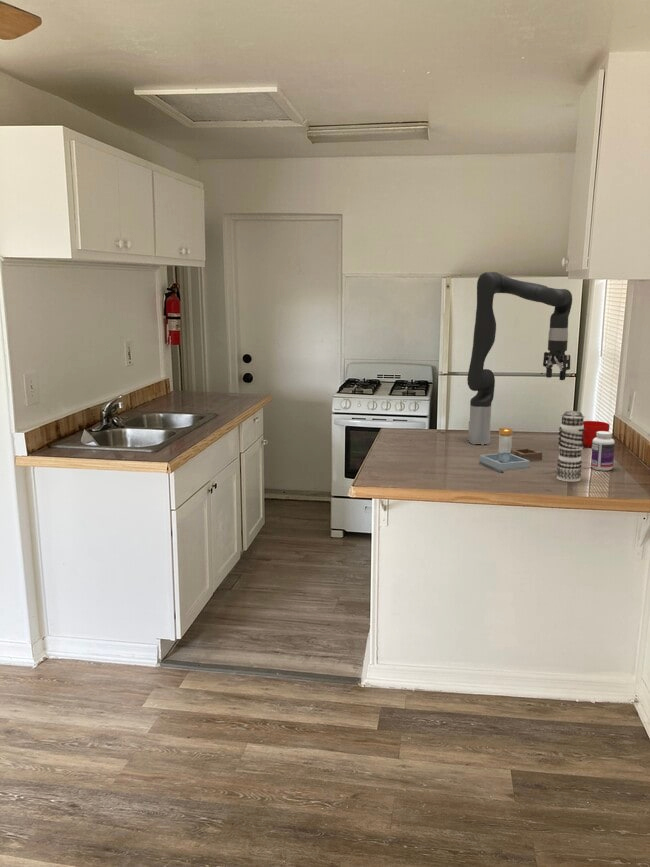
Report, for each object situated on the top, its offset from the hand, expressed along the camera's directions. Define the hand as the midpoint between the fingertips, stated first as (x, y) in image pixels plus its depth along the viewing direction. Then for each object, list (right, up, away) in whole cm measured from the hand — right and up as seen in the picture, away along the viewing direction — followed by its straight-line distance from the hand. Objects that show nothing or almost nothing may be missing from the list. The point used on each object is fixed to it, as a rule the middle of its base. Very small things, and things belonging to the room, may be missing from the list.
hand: (555, 378), depth 293 cm
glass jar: (-24, -35, -12) cm, 44 cm away
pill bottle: (+13, -36, -16) cm, 42 cm away
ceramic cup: (+22, -28, +22) cm, 42 cm away
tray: (-24, -36, -12) cm, 45 cm away
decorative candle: (-5, -39, -29) cm, 49 cm away
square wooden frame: (-13, -34, -3) cm, 36 cm away
